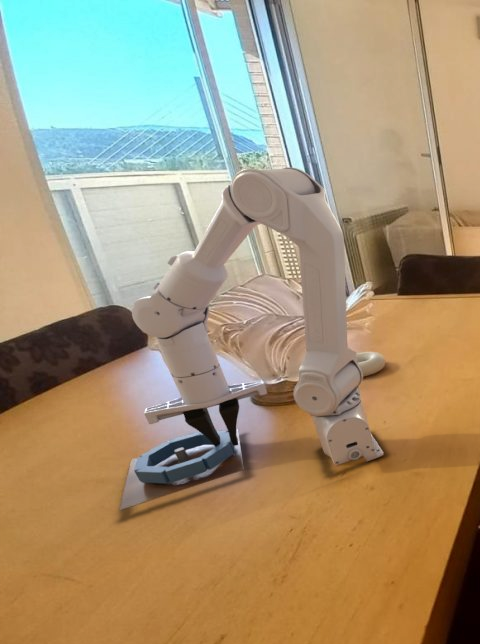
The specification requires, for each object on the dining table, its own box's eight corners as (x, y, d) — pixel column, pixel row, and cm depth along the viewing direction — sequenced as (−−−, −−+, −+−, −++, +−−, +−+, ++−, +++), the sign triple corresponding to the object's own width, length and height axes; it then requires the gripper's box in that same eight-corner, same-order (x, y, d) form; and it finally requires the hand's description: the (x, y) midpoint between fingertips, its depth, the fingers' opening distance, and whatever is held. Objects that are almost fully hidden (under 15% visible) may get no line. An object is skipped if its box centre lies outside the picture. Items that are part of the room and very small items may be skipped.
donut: (329, 379, 107) (367, 381, 105) (325, 365, 105) (363, 367, 103) (360, 361, 116) (396, 363, 114) (356, 348, 114) (392, 350, 112)
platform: (247, 477, 73) (237, 454, 72) (123, 519, 65) (109, 494, 64) (241, 436, 85) (232, 415, 83) (135, 467, 77) (123, 444, 75)
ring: (236, 461, 74) (231, 451, 73) (137, 493, 67) (131, 482, 67) (233, 433, 82) (228, 423, 81) (144, 458, 76) (139, 448, 75)
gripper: (252, 350, 79) (277, 420, 84) (134, 375, 71) (170, 451, 76) (255, 362, 74) (282, 436, 79) (128, 391, 66) (168, 471, 71)
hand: (228, 445), depth 77 cm, fingers closed on ring, 1 cm apart
